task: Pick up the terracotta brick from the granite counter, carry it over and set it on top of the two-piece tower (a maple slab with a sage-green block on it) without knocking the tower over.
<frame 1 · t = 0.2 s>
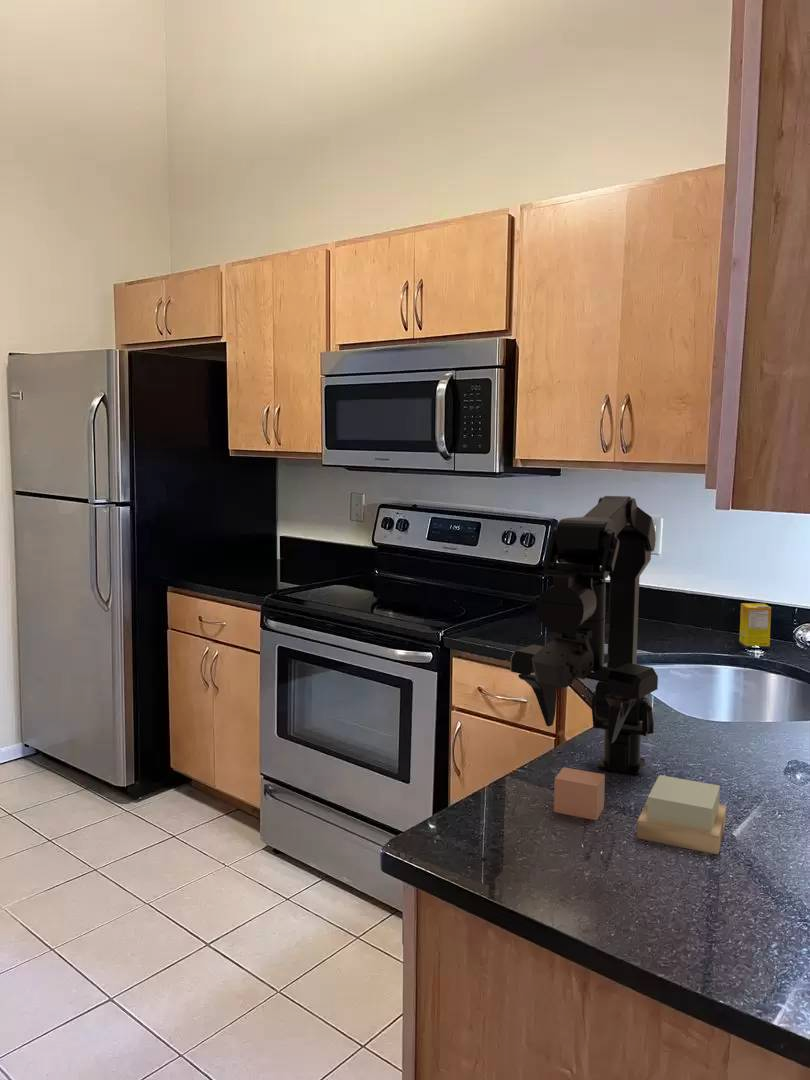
hand: (579, 733, 107), 14 cm above the counter, fingers open, 9 cm apart
terracotta brick: (579, 810, 116), on the counter
tower base: (682, 834, 110), on the counter, touching tower top
supplement box: (753, 647, 212), on the counter
tower top: (683, 812, 110), point 2 cm above the counter, touching tower base
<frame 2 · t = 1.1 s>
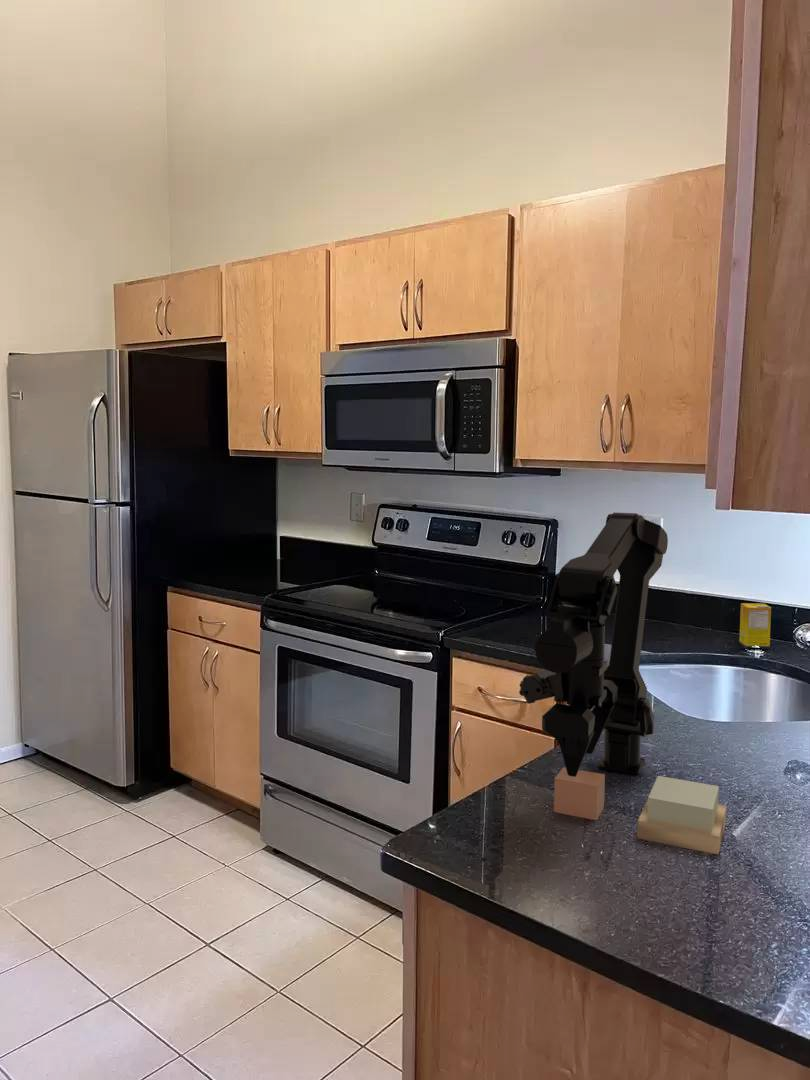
hand: (580, 764, 116), 7 cm above the counter, fingers open, 9 cm apart
nothing on the counter moved.
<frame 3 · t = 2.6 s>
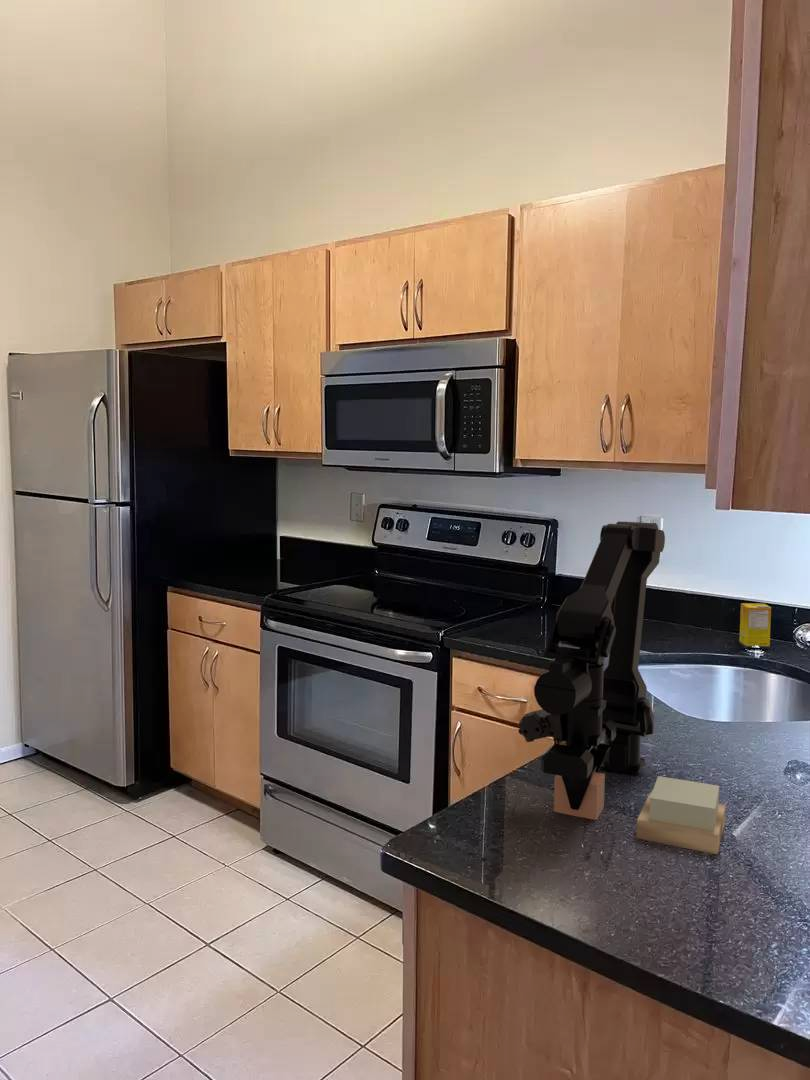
hand: (579, 802, 116), 1 cm above the counter, fingers closed on terracotta brick, 4 cm apart
terracotta brick: (579, 809, 116), on the counter, touching gripper
everything else where it was.
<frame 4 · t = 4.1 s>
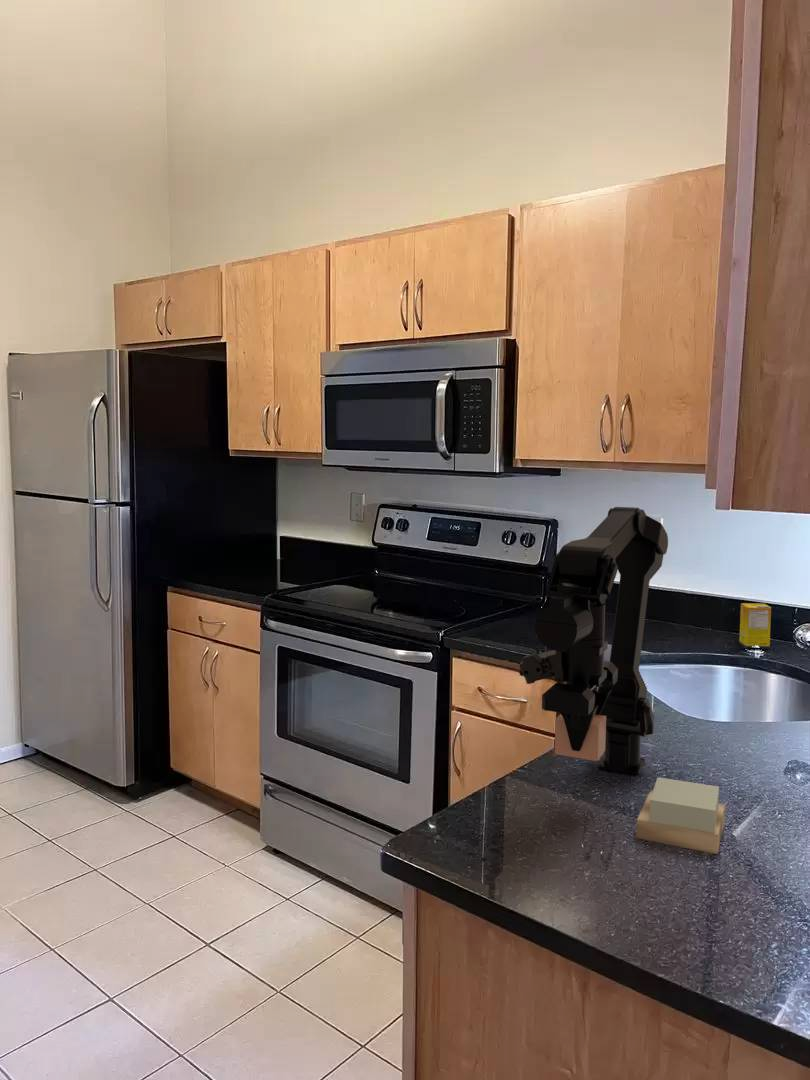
hand: (580, 744, 115), 9 cm above the counter, fingers closed on terracotta brick, 4 cm apart
terracotta brick: (580, 752, 115), point 8 cm above the counter, touching gripper
everything else where it was.
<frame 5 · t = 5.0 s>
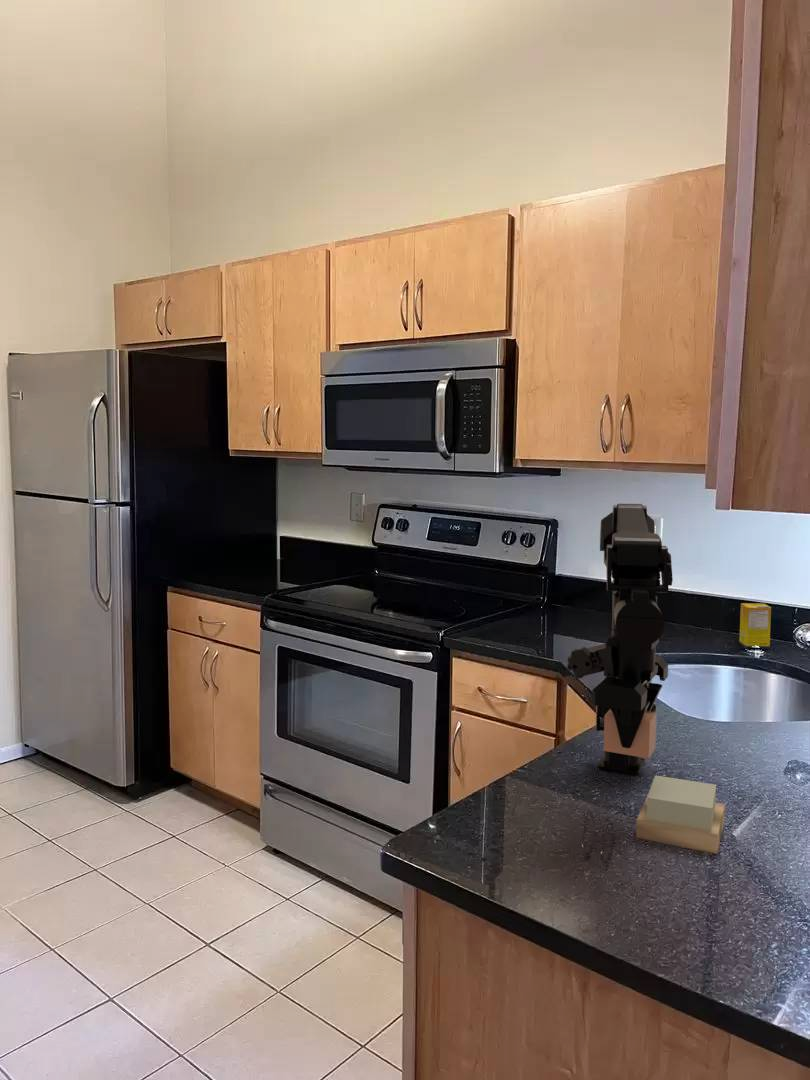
hand: (630, 741, 112), 11 cm above the counter, fingers closed on terracotta brick, 4 cm apart
terracotta brick: (629, 749, 112), point 10 cm above the counter, touching gripper
everything else where it was.
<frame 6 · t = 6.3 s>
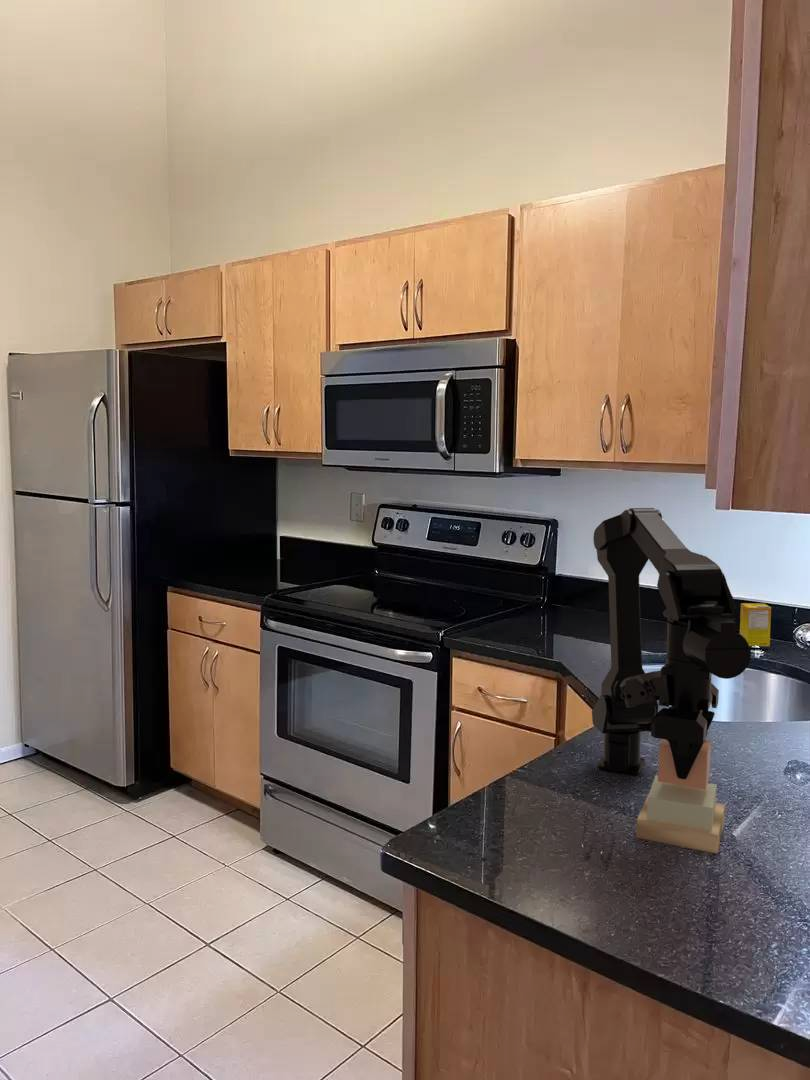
hand: (684, 771, 109), 8 cm above the counter, fingers closed on terracotta brick, 4 cm apart
terracotta brick: (683, 779, 109), point 7 cm above the counter, touching gripper
everything else where it was.
when the fingers open (8 cm above the counter, at t = 7.0 s): terracotta brick drops 2 cm, resting on tower top.
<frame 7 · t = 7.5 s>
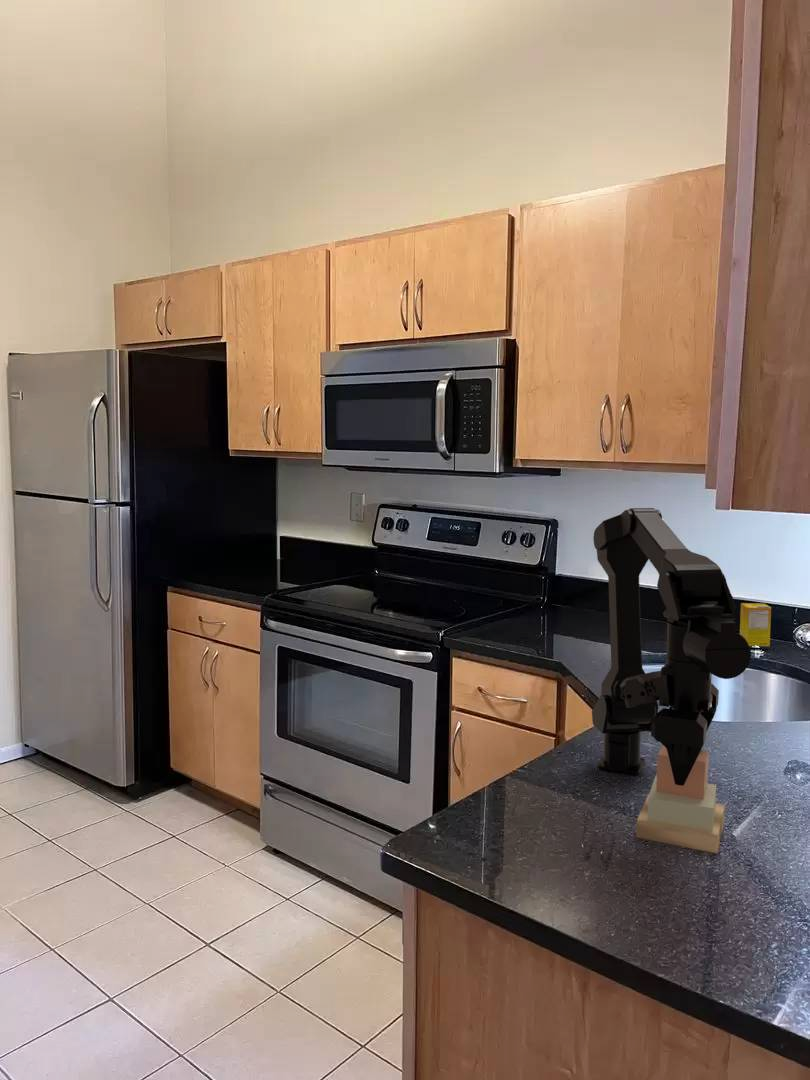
hand: (684, 772, 109), 8 cm above the counter, fingers open, 9 cm apart
terracotta brick: (681, 789, 110), point 5 cm above the counter, touching tower top
tower top: (682, 812, 110), point 2 cm above the counter, touching terracotta brick, tower base
everything else where it was.
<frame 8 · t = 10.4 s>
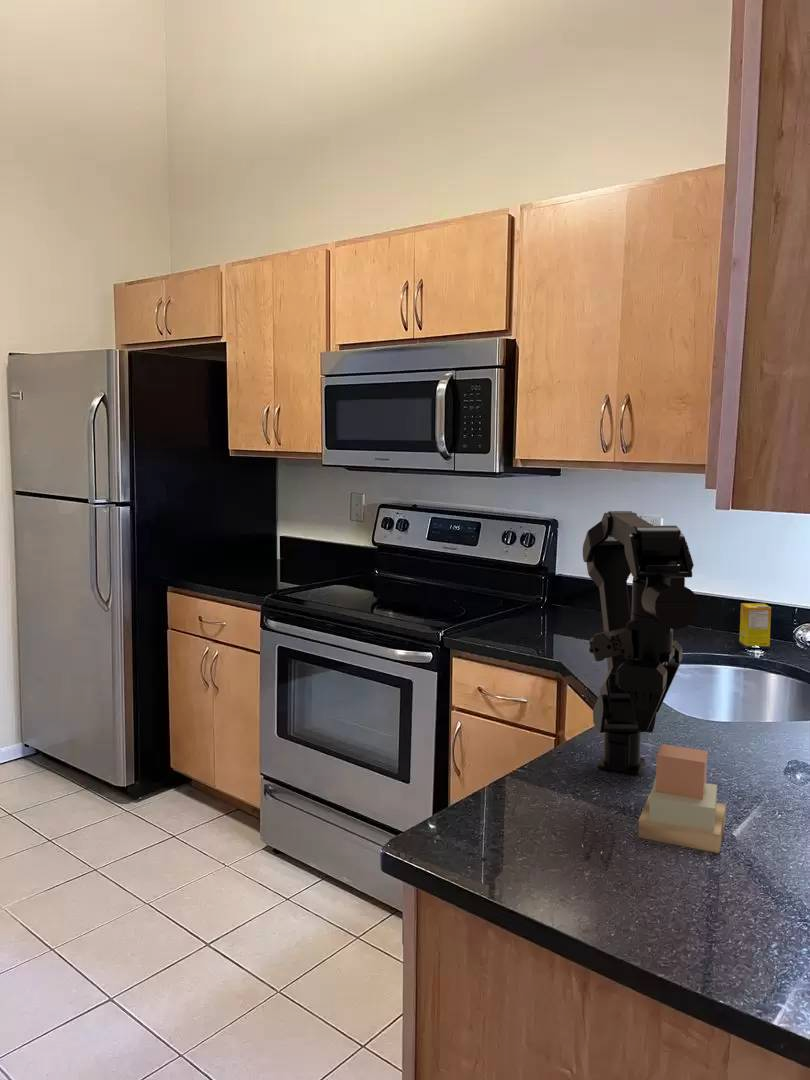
hand: (648, 720, 118), 12 cm above the counter, fingers open, 9 cm apart
nothing on the counter moved.
at the end: terracotta brick 0.4 cm off-centre on the tower base, point 6.0 cm above the tower base's base; tower top 0.4 cm off-centre on the tower base, point 3.0 cm above the tower base's base; terracotta brick tilted 0° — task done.
